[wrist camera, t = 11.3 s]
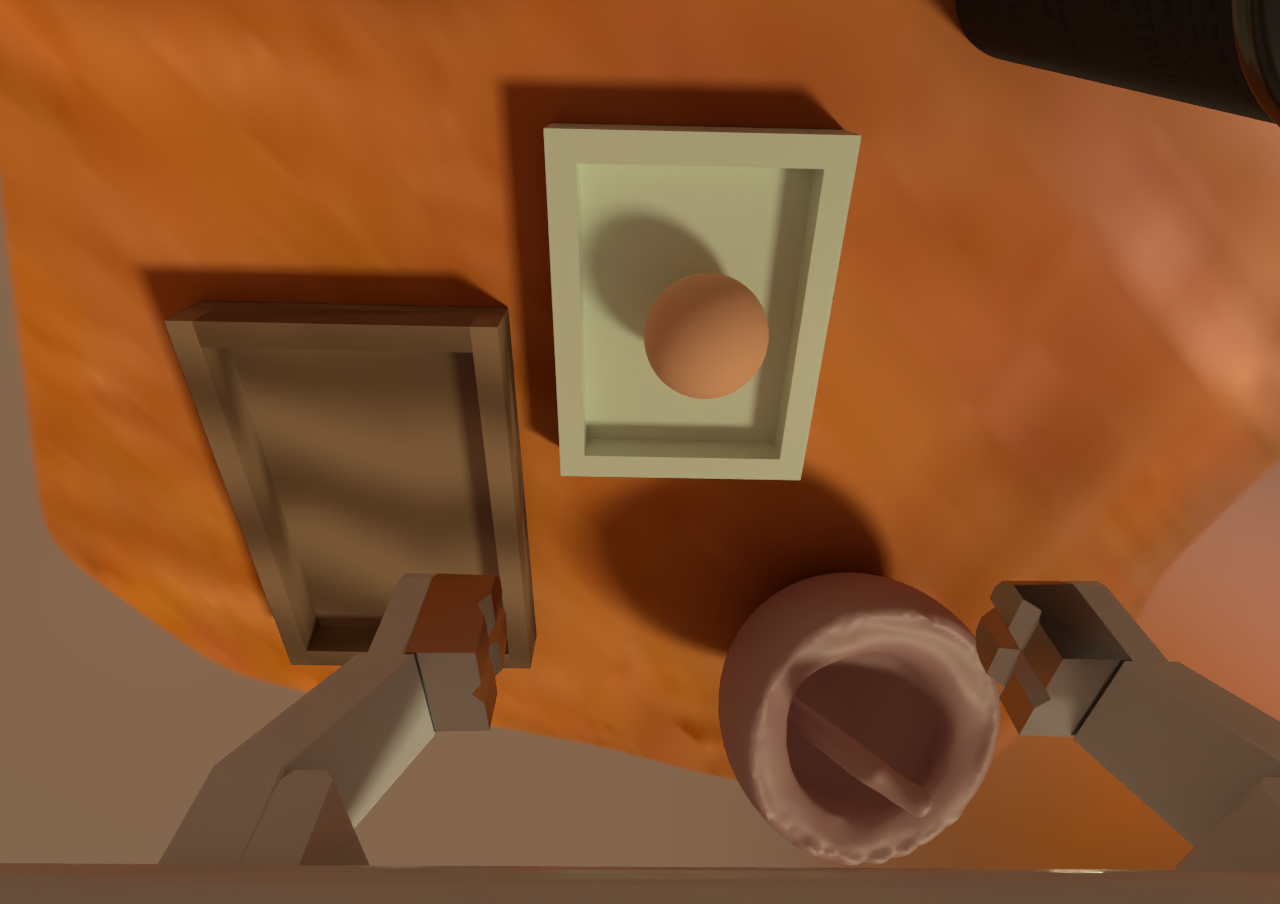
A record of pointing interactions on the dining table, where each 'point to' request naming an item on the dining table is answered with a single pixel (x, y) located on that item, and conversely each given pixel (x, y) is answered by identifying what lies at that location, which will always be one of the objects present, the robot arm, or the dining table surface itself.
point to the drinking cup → (1144, 46)
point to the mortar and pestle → (857, 716)
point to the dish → (363, 457)
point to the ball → (706, 335)
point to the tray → (675, 248)
